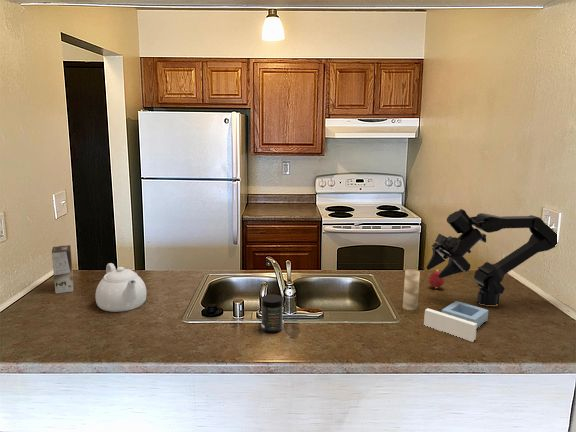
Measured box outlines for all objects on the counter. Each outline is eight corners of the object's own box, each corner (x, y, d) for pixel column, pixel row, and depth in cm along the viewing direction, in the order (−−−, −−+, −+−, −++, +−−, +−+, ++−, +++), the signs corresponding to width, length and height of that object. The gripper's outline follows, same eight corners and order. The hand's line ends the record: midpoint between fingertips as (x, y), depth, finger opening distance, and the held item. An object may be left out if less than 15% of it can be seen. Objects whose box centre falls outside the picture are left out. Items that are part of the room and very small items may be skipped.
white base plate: (450, 310, 163) (451, 294, 162) (496, 324, 153) (498, 307, 151) (423, 327, 150) (424, 309, 148) (472, 344, 139) (474, 325, 137)
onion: (440, 292, 180) (442, 273, 179) (426, 289, 184) (427, 270, 182) (445, 288, 185) (447, 269, 183) (431, 285, 188) (432, 266, 186)
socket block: (455, 311, 161) (456, 300, 160) (487, 321, 153) (488, 310, 152) (440, 321, 153) (441, 309, 152) (473, 331, 145) (475, 319, 144)
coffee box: (74, 291, 175) (70, 250, 172) (55, 294, 172) (51, 252, 169) (73, 283, 183) (70, 244, 180) (55, 285, 181) (52, 246, 177)
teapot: (156, 295, 173) (155, 260, 170) (136, 315, 155) (133, 276, 152) (109, 292, 175) (106, 258, 172) (83, 312, 157) (80, 274, 154)
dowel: (413, 306, 166) (416, 269, 164) (419, 311, 162) (422, 273, 159) (400, 306, 166) (403, 269, 163) (405, 312, 161) (408, 274, 158)
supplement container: (286, 330, 145) (287, 299, 143) (267, 335, 142) (268, 304, 140) (275, 322, 151) (276, 292, 149) (257, 327, 147) (257, 296, 145)
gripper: (438, 220, 168) (408, 250, 169) (465, 233, 150) (430, 266, 151) (457, 241, 171) (426, 270, 172) (485, 255, 153) (450, 288, 154)
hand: (432, 273), depth 162 cm, fingers open, 9 cm apart
